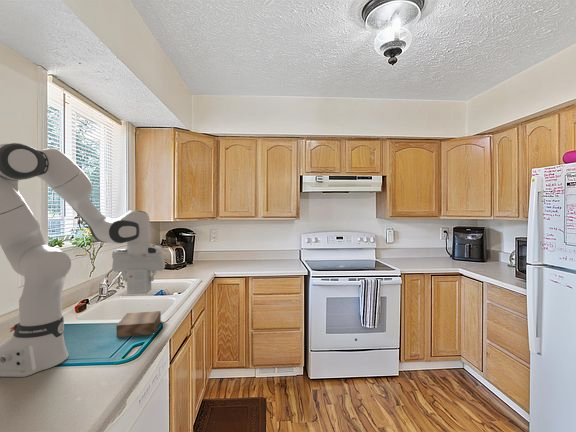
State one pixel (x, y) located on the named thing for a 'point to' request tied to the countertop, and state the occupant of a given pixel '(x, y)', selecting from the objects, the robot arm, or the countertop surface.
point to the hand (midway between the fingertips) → (139, 281)
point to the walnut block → (138, 323)
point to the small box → (138, 281)
